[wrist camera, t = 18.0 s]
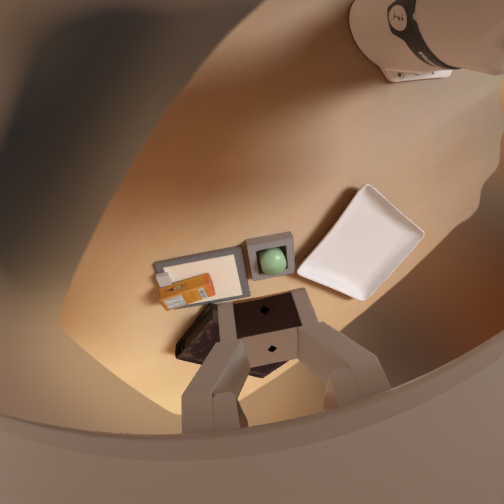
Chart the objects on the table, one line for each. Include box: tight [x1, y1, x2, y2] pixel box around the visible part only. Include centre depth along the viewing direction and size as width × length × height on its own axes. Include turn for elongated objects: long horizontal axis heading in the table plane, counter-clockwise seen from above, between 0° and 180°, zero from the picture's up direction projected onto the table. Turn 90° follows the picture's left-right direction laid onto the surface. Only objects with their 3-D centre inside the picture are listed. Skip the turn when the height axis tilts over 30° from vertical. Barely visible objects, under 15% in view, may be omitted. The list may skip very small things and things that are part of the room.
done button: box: [259, 247, 286, 275], centre depth 50 cm, size 4×4×3 cm
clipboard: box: [154, 246, 250, 309], centre depth 52 cm, size 16×12×2 cm
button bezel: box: [246, 232, 295, 281], centre depth 51 cm, size 8×8×2 cm
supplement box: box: [159, 273, 216, 311], centre depth 50 cm, size 3×4×10 cm
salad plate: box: [297, 184, 424, 301], centre depth 52 cm, size 21×21×3 cm
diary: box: [175, 303, 289, 378], centre depth 63 cm, size 19×25×5 cm
